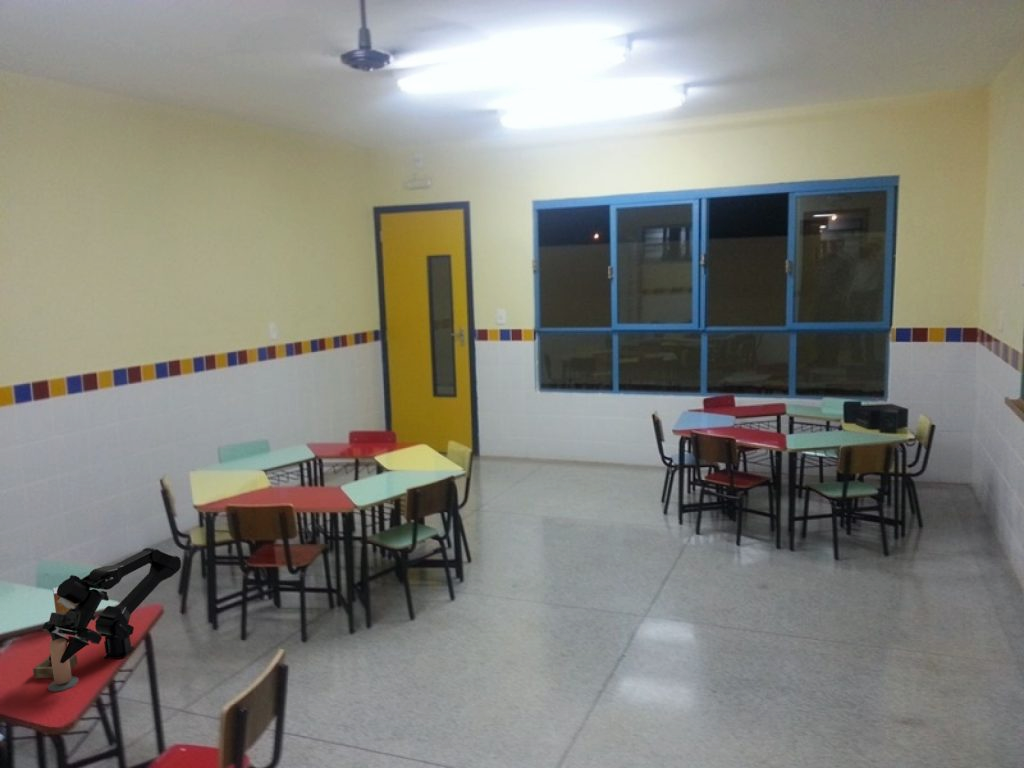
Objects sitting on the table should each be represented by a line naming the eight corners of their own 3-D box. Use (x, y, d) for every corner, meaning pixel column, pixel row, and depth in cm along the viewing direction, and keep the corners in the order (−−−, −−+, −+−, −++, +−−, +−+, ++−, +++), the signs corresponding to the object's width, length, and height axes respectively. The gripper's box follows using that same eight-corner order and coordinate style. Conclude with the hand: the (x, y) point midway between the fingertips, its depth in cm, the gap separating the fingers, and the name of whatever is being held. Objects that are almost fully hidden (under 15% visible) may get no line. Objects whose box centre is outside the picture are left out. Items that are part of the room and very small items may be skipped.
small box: (58, 630, 257) (53, 593, 255) (57, 623, 262) (52, 587, 261) (85, 623, 262) (80, 587, 260) (83, 616, 267) (79, 581, 265)
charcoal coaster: (83, 677, 225) (83, 676, 225) (68, 691, 217) (67, 690, 217) (59, 677, 225) (59, 676, 225) (42, 691, 218) (42, 690, 218)
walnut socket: (77, 663, 233) (76, 654, 233) (60, 677, 225) (59, 668, 225) (52, 664, 234) (50, 654, 233) (34, 678, 226) (33, 668, 225)
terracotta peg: (71, 674, 224) (66, 636, 222) (72, 681, 220) (66, 642, 219) (54, 679, 222) (48, 641, 220) (54, 686, 218) (48, 647, 216)
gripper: (43, 595, 225) (12, 647, 216) (87, 603, 218) (57, 657, 209) (71, 609, 233) (42, 659, 225) (114, 617, 226) (86, 670, 218)
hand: (55, 661), depth 219 cm, fingers closed on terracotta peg, 4 cm apart
